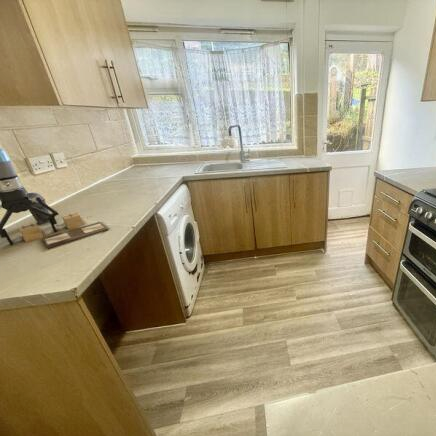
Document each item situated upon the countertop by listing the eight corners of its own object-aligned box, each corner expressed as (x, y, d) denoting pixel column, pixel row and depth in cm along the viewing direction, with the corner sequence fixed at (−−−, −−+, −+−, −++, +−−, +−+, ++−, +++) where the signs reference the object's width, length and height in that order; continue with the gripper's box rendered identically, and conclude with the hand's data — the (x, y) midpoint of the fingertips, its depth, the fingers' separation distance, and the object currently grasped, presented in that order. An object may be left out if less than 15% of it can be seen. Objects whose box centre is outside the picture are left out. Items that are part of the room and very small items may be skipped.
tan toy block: (24, 238, 103) (17, 226, 101) (41, 233, 107) (35, 222, 105) (25, 242, 100) (19, 230, 98) (43, 237, 104) (38, 225, 102)
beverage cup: (56, 223, 117) (36, 183, 108) (36, 228, 112) (13, 187, 104) (55, 219, 121) (35, 180, 113) (35, 224, 117) (13, 184, 108)
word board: (43, 240, 101) (41, 238, 100) (100, 224, 115) (99, 221, 115) (48, 249, 94) (47, 246, 93) (108, 231, 108) (107, 228, 108)
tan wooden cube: (66, 226, 113) (61, 215, 111) (80, 222, 117) (76, 212, 115) (69, 230, 110) (64, 218, 108) (84, 225, 114) (79, 214, 112)
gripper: (-42, 200, 84) (-9, 252, 93) (53, 183, 102) (73, 229, 110) (-41, 196, 89) (-10, 246, 97) (50, 181, 106) (69, 224, 115)
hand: (34, 237), depth 104 cm, fingers open, 13 cm apart
